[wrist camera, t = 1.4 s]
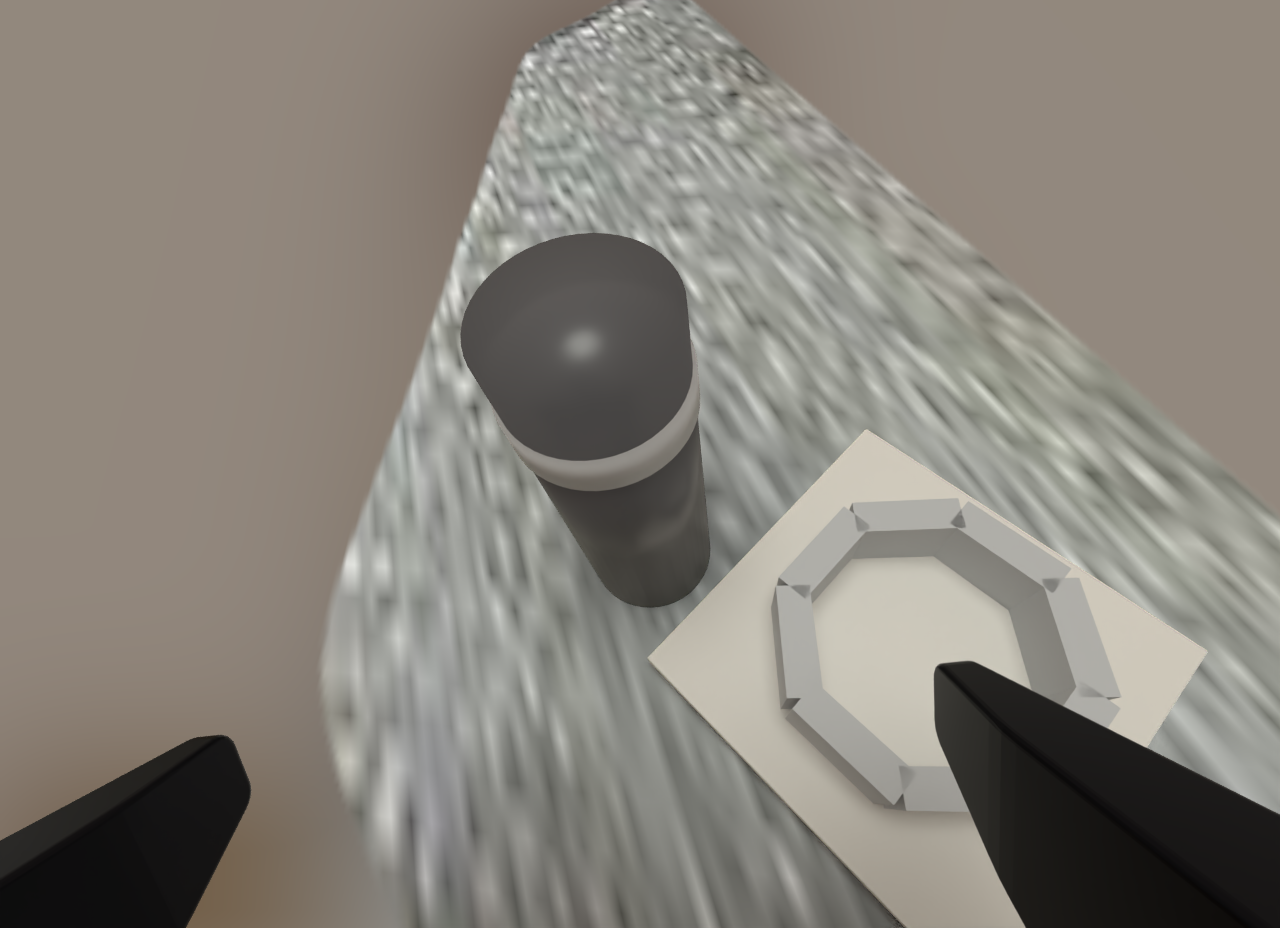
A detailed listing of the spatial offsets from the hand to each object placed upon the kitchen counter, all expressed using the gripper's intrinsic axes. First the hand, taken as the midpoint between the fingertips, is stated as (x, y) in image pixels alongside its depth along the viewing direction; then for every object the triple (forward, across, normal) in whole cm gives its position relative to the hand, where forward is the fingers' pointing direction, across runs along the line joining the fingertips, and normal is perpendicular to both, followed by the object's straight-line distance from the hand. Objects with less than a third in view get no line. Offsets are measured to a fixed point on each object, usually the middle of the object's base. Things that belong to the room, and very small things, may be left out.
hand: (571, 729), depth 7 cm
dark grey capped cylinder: (+15, 0, +4) cm, 15 cm away
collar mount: (+11, -8, +8) cm, 16 cm away
